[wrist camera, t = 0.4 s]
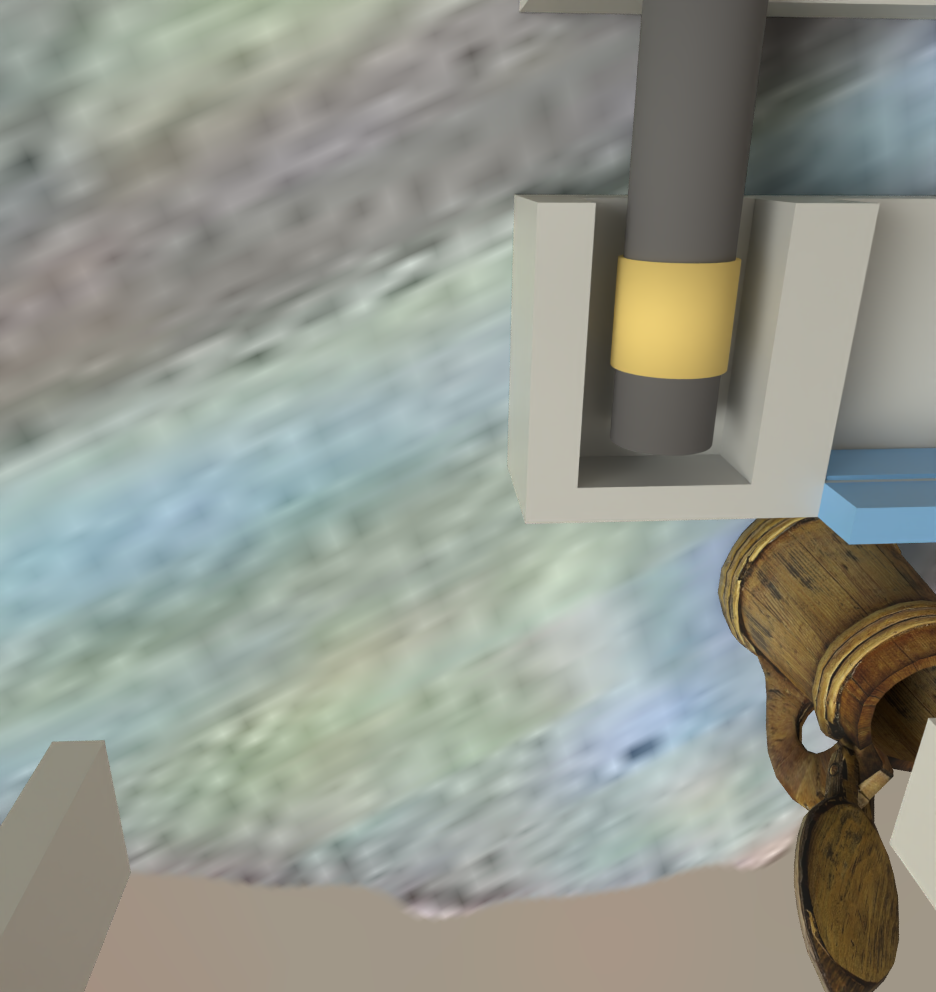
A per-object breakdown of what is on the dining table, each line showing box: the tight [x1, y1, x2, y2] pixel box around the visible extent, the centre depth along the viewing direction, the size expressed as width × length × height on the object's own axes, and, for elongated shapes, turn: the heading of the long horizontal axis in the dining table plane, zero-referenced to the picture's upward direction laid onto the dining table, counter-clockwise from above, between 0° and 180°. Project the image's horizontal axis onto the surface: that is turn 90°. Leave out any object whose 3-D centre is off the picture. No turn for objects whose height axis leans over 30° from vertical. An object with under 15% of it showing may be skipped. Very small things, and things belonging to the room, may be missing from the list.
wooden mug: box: [718, 517, 936, 992], centre depth 33 cm, size 9×14×18 cm, turn 136°
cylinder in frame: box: [507, 0, 936, 545], centre depth 30 cm, size 20×22×9 cm
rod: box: [610, 0, 769, 456], centre depth 28 cm, size 18×4×4 cm, turn 0°
